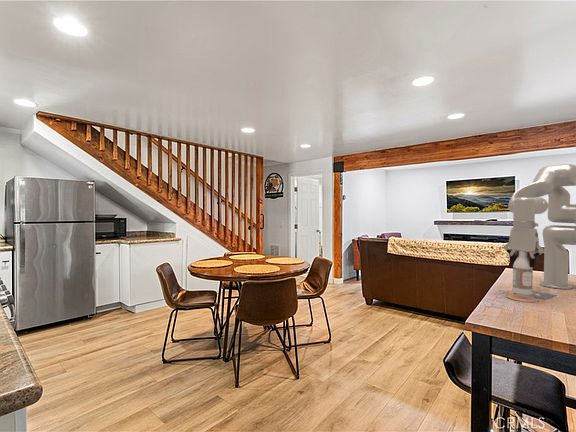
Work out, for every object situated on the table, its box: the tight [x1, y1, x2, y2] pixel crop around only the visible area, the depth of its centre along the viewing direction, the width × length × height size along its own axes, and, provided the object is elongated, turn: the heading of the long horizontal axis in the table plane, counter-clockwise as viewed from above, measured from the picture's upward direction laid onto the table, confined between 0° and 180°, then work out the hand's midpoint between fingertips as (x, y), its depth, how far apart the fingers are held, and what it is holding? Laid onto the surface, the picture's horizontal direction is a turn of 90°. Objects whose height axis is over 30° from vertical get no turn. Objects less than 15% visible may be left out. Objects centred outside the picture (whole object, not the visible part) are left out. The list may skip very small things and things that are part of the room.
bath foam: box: [512, 251, 534, 295], centre depth 138 cm, size 7×7×20 cm
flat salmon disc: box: [506, 293, 539, 303], centre depth 138 cm, size 11×11×1 cm
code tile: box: [514, 290, 557, 300], centre depth 145 cm, size 12×12×1 cm
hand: (522, 265), depth 138 cm, fingers closed on bath foam, 6 cm apart
